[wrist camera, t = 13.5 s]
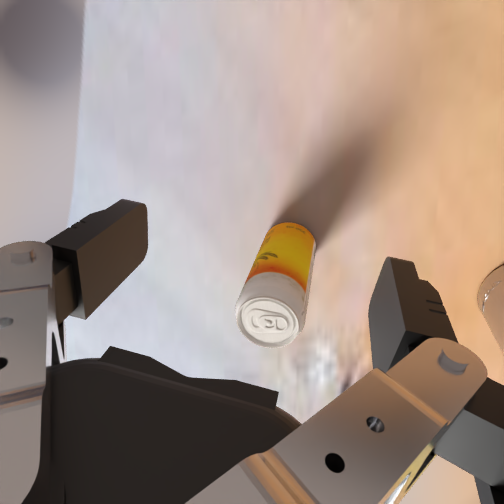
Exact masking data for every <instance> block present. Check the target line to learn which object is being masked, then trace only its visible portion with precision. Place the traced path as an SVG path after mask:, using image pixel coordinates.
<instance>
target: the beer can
mask: <svg viewBox="0 0 504 504" xmlns="http://www.w3.org/2000/svg"><path fill="white" fill-rule="evenodd" d="M315 251H316V243H315V240H314V237H313V236H312V234H311V233H310V232H309V231H308V230H307V229H306V228H305V227H303V226H301V225H299V224H296V223H290V222H286V223H280V224H278V225H275V226H274V227H272V228H271V229H270V230H269V231H268V232H267V234H266V236H265V238H264V241H263V243H262V245H261V247H260V250H259V252H258V254H257V257H256V259H255V261H254V264H253V266H252V268H251V271H250V273H249V275H248V277H247V280H246V282H245V284H244V287H243V289H242V291H241V294H240V296H239V298H238V300H237V303H236V307H235V313H236V318H237V325H238V328H239V330H240V332H241V333H242V334H243V336H244V337H245V338H247V339H248V340H249V341H250V342H252V343H254V344H256V345H258V346H261V347H265V348H280V347H284V346H286V345H288V344H290V343H291V342H292V341H293V340H294V339H295V338H296V336H297V335H298V334H299V333H300V332H301V331H302V329H303V327H304V324H305V319H306V312H307V305H308V299H309V292H310V285H311V278H312V272H313V265H314V258H315Z"/></svg>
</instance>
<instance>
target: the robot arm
mask: <svg viewBox="0 0 504 504" xmlns="http://www.w3.org/2000/svg"><path fill="white" fill-rule="evenodd" d="M147 249H148V222H147V207H146V205H145V204H144V203H139V202H134V201H130V200H125V199H121V200H119V201H118V202H116V203H115V204H113V205H112V206H110V207H109V208H107V209H106V210H102V211H98V212H95V213H92V214H89V215H88V216H86V217H85V218H83V219H81V220H80V222H77V223H75V224H74V225H72V226H71V228H67V229H66V230H64V231H62V232H61V233H59V234H58V235H56V236H54V237H53V238H51V239H50V240H48V241H47V242H45V243H42V242H36V241H23V242H16V243H12V244H8V245H6V246H3V247H1V248H0V504H399V503H400V501H401V500H402V499H403V497H404V496H405V495H406V494H407V492H408V491H409V490H410V489H411V487H412V486H413V485H414V484H415V482H416V481H417V480H418V479H419V477H420V476H421V475H422V473H423V472H424V471H425V470H426V468H427V467H428V466H429V464H430V463H431V462H432V461H433V459H434V458H435V457H436V456H437V455H438V456H440V457H442V458H444V459H445V460H447V461H449V462H451V463H452V464H454V465H456V466H458V467H459V468H461V469H463V470H465V471H466V472H468V473H470V474H472V475H473V476H474V478H475V482H476V486H477V490H478V494H479V498H480V502H481V504H504V385H501V384H499V383H497V382H495V381H493V380H491V379H490V378H488V377H487V369H486V367H485V365H484V363H483V362H482V361H481V359H480V358H479V357H478V356H477V355H476V354H475V353H473V352H472V351H471V350H469V349H468V348H466V347H465V346H463V345H461V344H459V343H458V341H457V338H456V336H455V333H454V331H453V328H452V326H451V323H450V321H449V318H448V315H446V310H445V308H444V306H442V305H443V303H442V300H441V298H440V295H439V292H438V291H437V290H436V289H435V288H434V287H433V286H432V285H431V284H430V283H429V282H428V281H425V280H420V279H419V277H418V274H417V271H416V268H415V265H414V263H413V262H411V261H407V260H402V259H397V258H393V257H387V258H386V260H385V262H384V264H383V267H382V270H381V272H380V275H379V278H378V281H377V283H376V286H375V289H374V292H373V294H372V297H371V301H370V305H369V313H368V317H369V328H370V340H371V351H372V362H373V370H372V371H370V372H369V373H368V374H366V375H365V376H364V377H363V378H361V379H360V380H359V381H357V382H356V383H355V384H354V385H352V386H351V387H350V388H348V389H347V390H346V391H345V392H343V393H342V394H341V395H339V396H338V397H337V398H336V399H334V400H333V401H332V402H330V403H329V404H328V405H326V406H325V407H324V408H323V409H321V410H320V411H319V412H317V413H316V414H315V415H314V416H312V417H311V418H310V419H308V420H307V421H306V422H305V423H303V424H301V423H300V422H299V421H297V420H296V419H295V418H294V417H293V416H291V415H290V414H288V413H287V412H285V411H284V410H282V409H280V408H279V407H277V406H276V403H277V398H278V393H279V392H277V391H273V390H270V389H266V388H262V387H259V386H255V385H251V384H248V383H244V382H240V381H237V380H224V379H206V378H191V377H186V376H184V375H182V374H180V373H178V372H176V371H175V370H173V369H171V368H169V367H167V366H166V365H164V364H162V363H160V362H158V361H156V360H155V359H153V358H151V357H149V356H145V355H141V354H138V353H134V352H130V351H127V350H123V349H119V348H116V347H112V346H110V347H109V348H108V349H107V351H106V352H105V353H104V354H103V356H102V357H101V358H87V359H78V360H72V361H68V362H67V355H66V328H65V322H64V319H66V318H67V317H68V316H69V315H70V316H73V317H77V318H81V319H85V320H86V319H87V318H88V317H89V316H90V315H91V314H92V313H93V312H94V311H95V310H96V309H97V308H98V306H99V305H100V304H101V303H102V302H103V301H104V300H105V299H106V298H107V297H108V296H109V295H110V294H111V293H112V292H113V291H114V290H115V289H116V288H117V287H118V286H119V285H120V284H121V283H122V282H123V281H124V280H125V279H126V278H127V277H128V276H129V275H130V274H131V273H132V272H133V271H134V270H135V269H136V268H137V267H138V266H139V265H140V263H141V262H142V261H143V260H144V258H145V256H146V253H147ZM477 301H478V306H479V308H480V310H481V312H482V314H483V316H484V318H485V320H486V322H487V324H488V326H489V328H490V330H491V332H492V334H493V336H494V338H495V339H496V341H497V343H498V345H499V347H500V349H501V351H502V353H503V355H504V265H503V266H501V267H499V268H498V269H496V270H495V271H493V272H492V273H491V274H490V275H489V276H488V277H487V278H486V279H485V280H484V282H483V283H482V284H481V286H480V289H479V291H478V298H477Z"/></svg>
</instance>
